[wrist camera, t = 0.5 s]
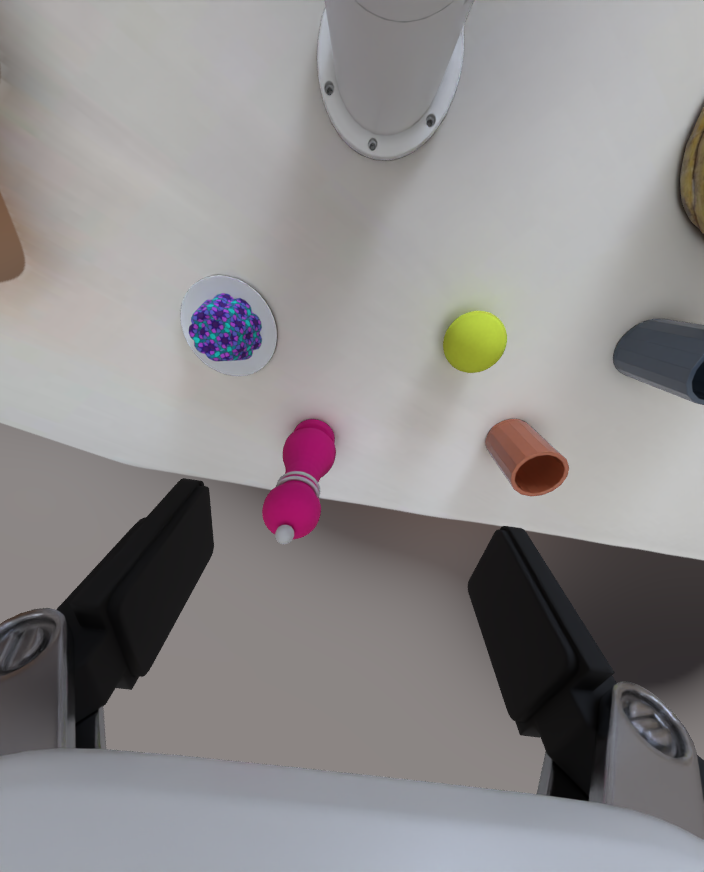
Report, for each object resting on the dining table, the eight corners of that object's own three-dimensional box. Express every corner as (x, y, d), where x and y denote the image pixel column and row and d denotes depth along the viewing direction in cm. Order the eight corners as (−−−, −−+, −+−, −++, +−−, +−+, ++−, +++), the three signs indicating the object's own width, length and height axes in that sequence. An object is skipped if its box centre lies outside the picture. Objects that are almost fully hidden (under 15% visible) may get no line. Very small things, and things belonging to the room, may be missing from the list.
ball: (449, 301, 36) (467, 307, 30) (503, 315, 36) (530, 324, 30) (429, 357, 39) (441, 372, 33) (478, 369, 39) (499, 386, 34)
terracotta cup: (497, 414, 42) (528, 446, 35) (540, 424, 43) (580, 458, 35) (477, 452, 46) (501, 490, 38) (518, 461, 46) (549, 500, 38)
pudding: (219, 387, 42) (201, 401, 37) (163, 300, 37) (134, 304, 32) (294, 354, 39) (285, 365, 35) (246, 257, 34) (227, 254, 30)
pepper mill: (347, 443, 46) (336, 551, 28) (309, 464, 48) (277, 576, 30) (319, 407, 43) (288, 500, 25) (280, 430, 45) (227, 531, 27)
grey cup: (638, 311, 36) (727, 325, 27) (690, 326, 36) (794, 344, 27) (601, 368, 39) (670, 396, 30) (649, 380, 39) (730, 412, 31)
